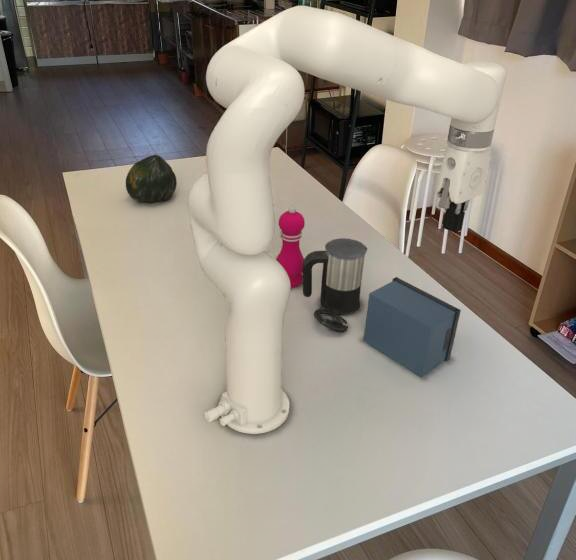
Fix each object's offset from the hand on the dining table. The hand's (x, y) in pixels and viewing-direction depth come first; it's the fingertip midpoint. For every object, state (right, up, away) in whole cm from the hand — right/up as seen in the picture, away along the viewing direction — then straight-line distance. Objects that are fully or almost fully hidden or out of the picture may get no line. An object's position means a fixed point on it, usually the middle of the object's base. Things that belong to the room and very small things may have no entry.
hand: (451, 229), depth 112 cm
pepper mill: (-31, -10, +29) cm, 44 cm away
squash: (-74, +15, +68) cm, 102 cm away
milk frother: (-21, -18, +18) cm, 33 cm away
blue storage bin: (-7, -24, +8) cm, 27 cm away
